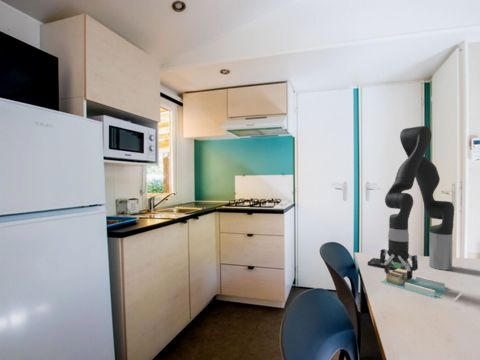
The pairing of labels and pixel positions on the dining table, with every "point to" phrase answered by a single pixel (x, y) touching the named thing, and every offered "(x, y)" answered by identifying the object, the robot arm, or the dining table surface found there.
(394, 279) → the tan rectangular block
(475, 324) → the dining table surface
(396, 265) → the disk drive
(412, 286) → the pair of grey bars
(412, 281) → the rubber mat
